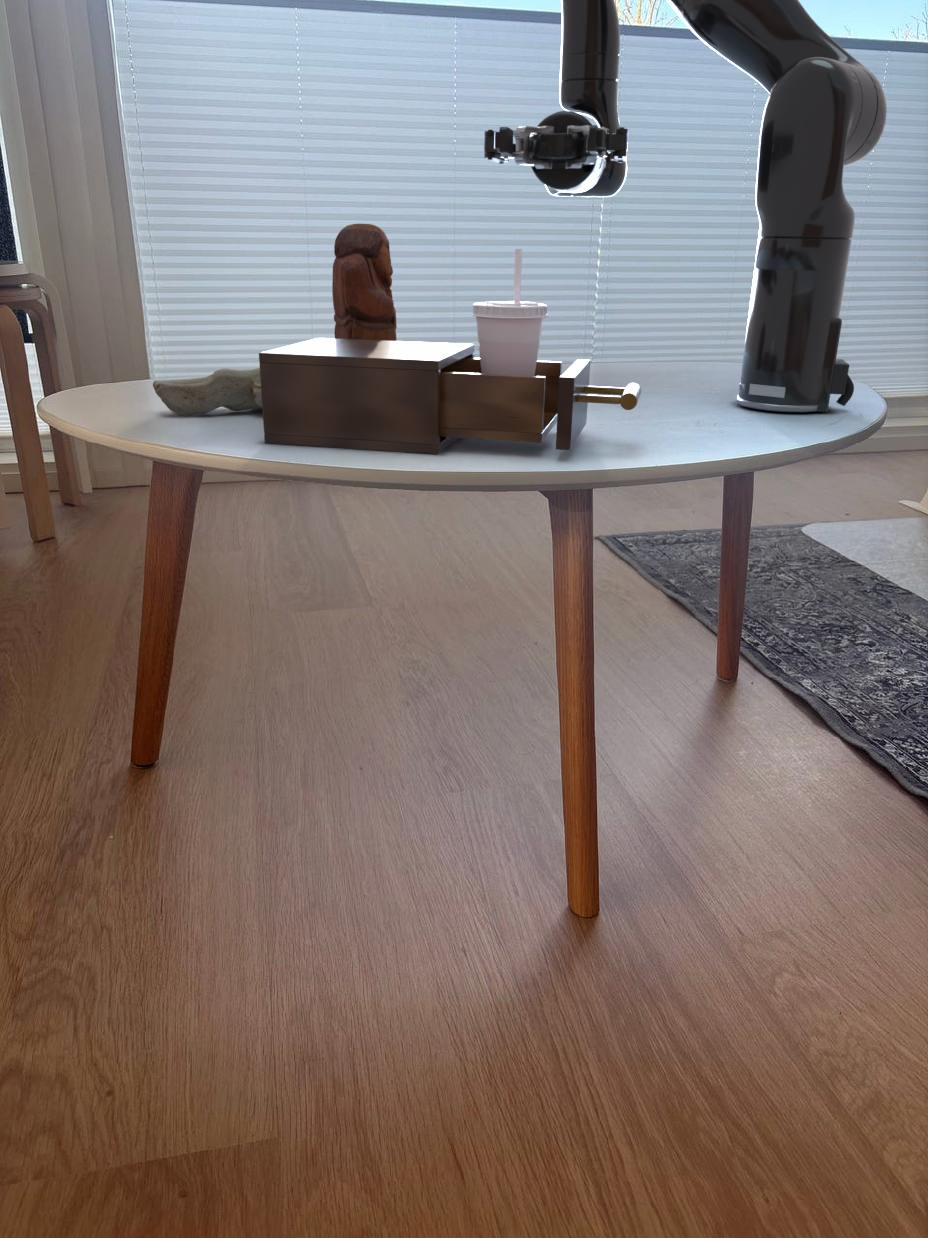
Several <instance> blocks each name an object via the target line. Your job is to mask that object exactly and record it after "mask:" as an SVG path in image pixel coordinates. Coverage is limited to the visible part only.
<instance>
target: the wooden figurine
mask: <svg viewBox="0 0 928 1238" xmlns="http://www.w3.org/2000/svg"><path fill="white" fill-rule="evenodd" d="M333 249H334V252H333V253H334V257H335V258H334V261H333V263H332V285H331V287H332V304H333V311H334V314H333V320H334V322H335V323H334V333H333V334H334V338H336V339H361V340H385V341H398V340H397V339H398V338H397V328H398V327H397V310H396V307H395V303H394V299H393V291H392V289H391V287H392V285H393V278H392V275H393V274H394V269H393V265H392V258H391V251H390V249H391V248H390V241H389V239H388V237H387V235H386V232H385V231H384V230H383V229H382V228H381V227H379V226H378V225H376V224H373V223H351V224H348V225H345V226H344V227H343V228H342V229H341V230H340V231H339V232H338V234H337V235H336V238H335V241H334V248H333Z"/></svg>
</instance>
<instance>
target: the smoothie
mask: <svg viewBox="0 0 928 1238" xmlns="http://www.w3.org/2000/svg"><path fill="white" fill-rule="evenodd" d="M522 256H523V249H522V248H515V249H514V275H513V277H514V279H513V281H514V282H513V300H507V301H504V300H503V301H501V300H500V301H499V300H498V301H497V300H493V301H491V300H488V301H478V302H474V303H473V304H472V314H471V316H473V317H474V318H475V320H476V330H477V331H476V332H477V342H478V351H479V358H480V363H481V373H483V374H504V375H525V376H535V369H536V363H537V361H538V356H539V349H540V345H541V344H540V343H541V338H542V332H543V323H544V319H545V318H548V304H545V303H542V302H534V301H521V290H522V289H521V288H522V287H521V285H522V261H523V260H522V259H523V257H522Z"/></svg>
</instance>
